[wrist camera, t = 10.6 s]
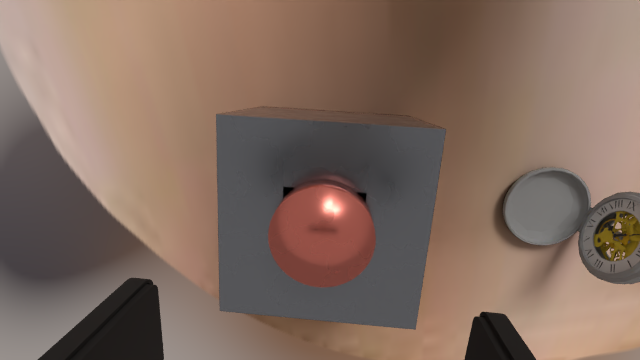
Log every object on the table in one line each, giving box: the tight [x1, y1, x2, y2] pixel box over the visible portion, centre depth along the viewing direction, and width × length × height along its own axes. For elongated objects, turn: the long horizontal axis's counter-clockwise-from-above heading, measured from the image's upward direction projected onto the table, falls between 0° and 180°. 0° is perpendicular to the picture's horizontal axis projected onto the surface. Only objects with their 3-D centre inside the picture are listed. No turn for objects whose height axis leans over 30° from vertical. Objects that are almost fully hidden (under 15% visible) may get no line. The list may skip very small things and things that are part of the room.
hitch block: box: [216, 107, 446, 330], centre depth 24 cm, size 12×12×10 cm
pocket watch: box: [503, 167, 640, 284], centre depth 24 cm, size 8×8×10 cm
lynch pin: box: [268, 180, 376, 287], centre depth 23 cm, size 6×6×12 cm
